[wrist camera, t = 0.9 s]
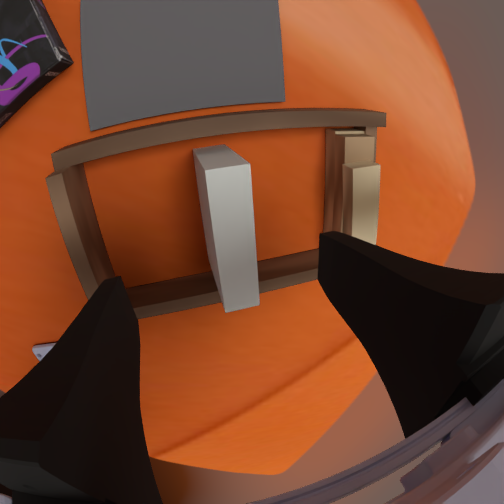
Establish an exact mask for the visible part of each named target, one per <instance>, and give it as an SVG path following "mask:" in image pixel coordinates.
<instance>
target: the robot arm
mask: <svg viewBox="0 0 504 504" xmlns="http://www.w3.org/2000/svg"><path fill="white" fill-rule="evenodd" d="M317 279H318V281H319V283H320V285H321V287H322V288H323V290H324V292H325V294H326V296H327V297H328V299H329V300H330V302H331V303H332V305H333V306H334V307H335V309H336V310H337V311H338V313H339V314H340V315H341V316H342V318H343V319H344V320H345V322H346V323H347V324H348V326H349V327H350V328H351V330H352V331H353V332H354V334H355V335H356V336H357V338H358V339H359V340H360V342H361V343H362V345H363V346H364V348H365V349H366V351H367V353H368V355H369V356H370V358H371V360H372V362H373V364H374V365H375V367H376V369H377V371H378V373H379V375H380V377H381V379H382V381H383V383H384V385H385V387H386V389H387V391H388V394H389V396H390V398H391V401H392V403H393V405H394V407H395V410H396V413H397V415H398V418H399V421H400V424H401V426H402V430H403V433H404V436H405V438H406V439H404V440H403V441H401V442H400V443H398V444H396V445H395V446H392V447H391V448H389V449H387V450H385V451H383V452H382V453H380V454H378V455H376V456H374V457H372V458H370V459H368V460H366V461H364V462H362V463H360V464H358V465H356V466H354V467H351V468H349V469H347V470H345V471H342V472H340V473H338V474H335V475H333V476H331V477H328V478H326V479H323V480H321V481H318V482H315V483H313V484H310V485H307V486H305V487H302V488H299V489H296V490H293V491H290V492H287V493H283V494H280V495H277V496H273V497H270V498H266V499H263V500H259V501H255V502H251V503H246V504H330V503H332V502H335V501H337V500H339V499H341V498H344V497H346V496H348V495H350V494H353V493H355V492H357V491H359V490H361V489H363V488H365V487H367V486H369V485H371V484H373V483H375V482H377V481H379V480H381V479H382V478H384V477H386V476H388V475H390V474H391V473H393V472H395V471H396V470H398V469H400V468H402V467H403V466H405V465H407V464H408V463H410V462H411V461H413V460H415V459H416V458H418V457H419V456H421V455H422V454H424V453H425V452H427V451H428V450H430V449H431V448H432V447H434V446H435V445H437V444H438V443H439V442H441V441H442V442H441V447H439V448H438V449H437V450H436V451H434V452H433V453H432V454H430V455H429V456H428V457H426V458H425V459H424V460H423V461H422V462H421V463H420V464H419V465H417V466H416V467H415V468H414V469H412V470H411V471H410V472H408V473H407V474H406V475H404V476H403V477H401V479H400V482H401V483H402V485H403V487H404V488H405V492H404V493H402V494H400V495H399V496H397V497H395V498H393V499H392V500H390V501H388V502H386V503H384V504H504V274H501V273H482V272H473V271H465V270H459V269H454V268H448V267H443V266H439V265H435V264H431V263H427V262H423V261H420V260H416V259H413V258H410V257H407V256H404V255H401V254H398V253H395V252H392V251H390V250H387V249H384V248H382V247H379V246H377V245H374V244H371V243H369V242H366V241H364V240H361V239H358V238H356V237H353V236H350V235H348V234H345V233H341V232H338V231H329V232H325V233H320V236H319V259H318V277H317ZM32 351H33V353H34V354H35V356H36V357H37V358H38V360H39V361H40V362H39V363H38V364H37V365H36V366H35V367H34V368H33V369H32V370H31V371H30V372H29V373H28V374H27V375H26V376H25V377H24V378H23V379H22V380H20V381H19V382H18V383H17V384H16V385H15V386H14V387H13V388H11V389H10V390H9V391H8V392H7V393H5V394H4V395H3V396H2V397H1V398H0V483H1V484H3V485H5V486H6V487H8V488H10V489H11V490H12V498H11V497H9V496H6V495H4V494H1V493H0V504H163V503H162V500H161V497H160V494H159V491H158V488H157V485H156V482H155V479H154V475H153V471H152V467H151V463H150V459H149V455H148V451H147V446H146V441H145V436H144V430H143V424H142V417H141V410H140V336H139V325H138V319H137V317H136V314H135V312H134V309H133V307H132V304H131V302H130V300H129V297H128V294H127V292H126V289H125V287H124V284H123V281H122V279H121V276H118V277H113V278H109V279H105V280H104V281H103V282H102V283H101V284H100V285H99V287H98V288H97V289H96V291H95V292H94V293H93V295H92V296H91V298H90V299H89V300H88V302H87V303H86V304H85V306H84V307H83V309H82V310H81V311H80V313H79V314H78V316H77V317H76V318H75V320H74V321H73V322H72V323H71V325H70V326H69V327H68V329H67V330H66V331H65V333H64V334H63V335H62V337H61V338H60V339H59V340H58V341H57V343H51V344H43V345H35V346H33V348H32Z"/></svg>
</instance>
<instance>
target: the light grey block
mask: <svg viewBox="0 0 504 504" xmlns="http://www.w3.org/2000/svg"><path fill="white" fill-rule="evenodd" d="M193 156H194V164H195V172H196V179H197V186H198V194H199V201H200V207H201V214H202V221H203V227H204V234H205V240H206V246H207V252H208V259H209V262H210V266H211V269H212V272H213V275H214V278H215V282H216V285H217V288H218V291H219V294H220V297H221V301H222V304H223V307H224V310H225V313H227V312H232V311H236V310H240V309H244V308H249V307H253V306H257V305H260V300H259V285H258V270H257V255H256V240H255V225H254V211H253V197H252V182H251V168H250V163H249V162H247V161H246V160H245V159H243V158H242V157H241V156H239V155H238V154H237V153H235V152H234V151H233V150H231V149H230V148H229V147H227V146H226V145H225V144H223V145H215V146H209V147H202V148H196V149H193Z"/></svg>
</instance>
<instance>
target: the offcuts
mask: <svg viewBox="0 0 504 504" xmlns="http://www.w3.org/2000/svg"><path fill="white" fill-rule="evenodd" d="M374 139H375V137H374V136H370V135H367V134H364V131H362V130H358V129H354V128H339V129H326V171H325V207H324V230H323V233H325V232H329V231H338V232H341V233H345V234H348V235H350V236H353V237H356V238H358V239H361V240H364V241H366V242H369V243H371V244H374V245H376V237H377V225H378V210H379V191H380V164H377V163H375V162H373V160H374Z"/></svg>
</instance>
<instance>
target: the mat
mask: <svg viewBox="0 0 504 504" xmlns="http://www.w3.org/2000/svg"><path fill="white" fill-rule="evenodd" d="M80 26H81V52H82V67H83V78H84V88H85V97H86V105H87V112H88V119H89V125H90V131H93V130H96V129H100V128H104V127H108V126H112V125H116V124H120V123H124V122H128V121H133V120H137V119H142V118H147V117H152V116H157V115H162V114H168V113H174V112H180V111H186V110H193V109H200V108H208V107H216V106H226V105H236V104H248V103H263V102H285V87H284V71H283V55H282V42H281V29H280V17H279V6H278V0H81V5H80Z"/></svg>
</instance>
